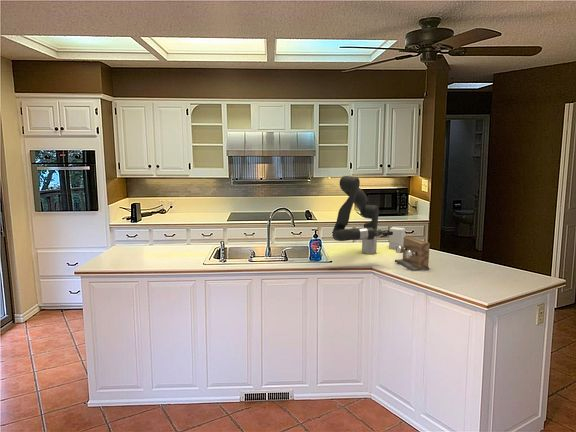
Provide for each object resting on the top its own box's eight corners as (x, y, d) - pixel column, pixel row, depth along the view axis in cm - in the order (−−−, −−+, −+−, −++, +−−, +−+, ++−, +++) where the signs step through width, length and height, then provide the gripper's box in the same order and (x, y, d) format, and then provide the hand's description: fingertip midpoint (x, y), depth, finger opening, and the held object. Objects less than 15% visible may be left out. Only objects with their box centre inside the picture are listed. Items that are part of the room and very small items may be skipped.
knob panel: (412, 270, 256) (413, 244, 253) (394, 261, 277) (395, 237, 274) (429, 269, 258) (430, 243, 256) (410, 260, 279) (411, 236, 277)
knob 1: (398, 253, 269) (399, 247, 268) (395, 252, 273) (395, 245, 272) (410, 253, 271) (410, 246, 270) (406, 251, 275) (407, 244, 274)
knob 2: (408, 258, 257) (408, 251, 256) (404, 256, 261) (405, 249, 261) (420, 257, 259) (421, 250, 258) (416, 256, 263) (417, 249, 263)
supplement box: (404, 248, 315) (405, 227, 312) (401, 250, 307) (401, 229, 305) (392, 246, 319) (393, 226, 317) (388, 248, 312) (389, 228, 310)
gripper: (370, 229, 256) (396, 228, 260) (360, 225, 270) (385, 224, 274) (369, 242, 257) (396, 240, 261) (360, 237, 271) (385, 236, 275)
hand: (390, 232), depth 268 cm, fingers open, 3 cm apart
